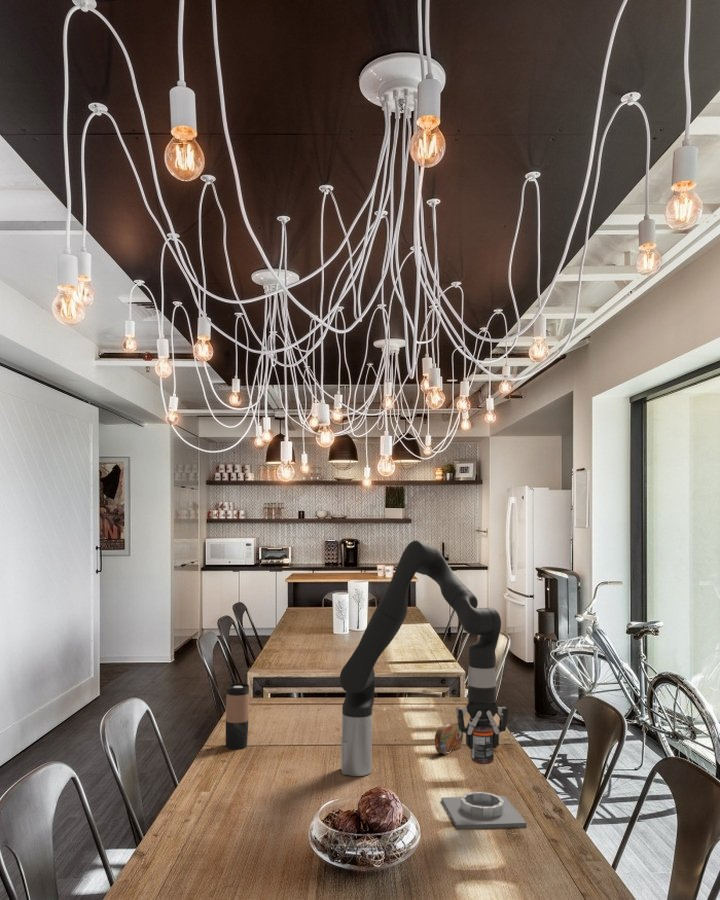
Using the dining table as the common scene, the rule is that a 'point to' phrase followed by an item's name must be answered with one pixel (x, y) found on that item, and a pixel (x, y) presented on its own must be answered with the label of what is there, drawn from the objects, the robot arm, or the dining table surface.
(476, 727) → the supplement bottle
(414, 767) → the dining table surface
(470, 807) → the collar
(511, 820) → the duct base board
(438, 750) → the tin
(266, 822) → the dining table surface
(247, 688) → the travel mug
